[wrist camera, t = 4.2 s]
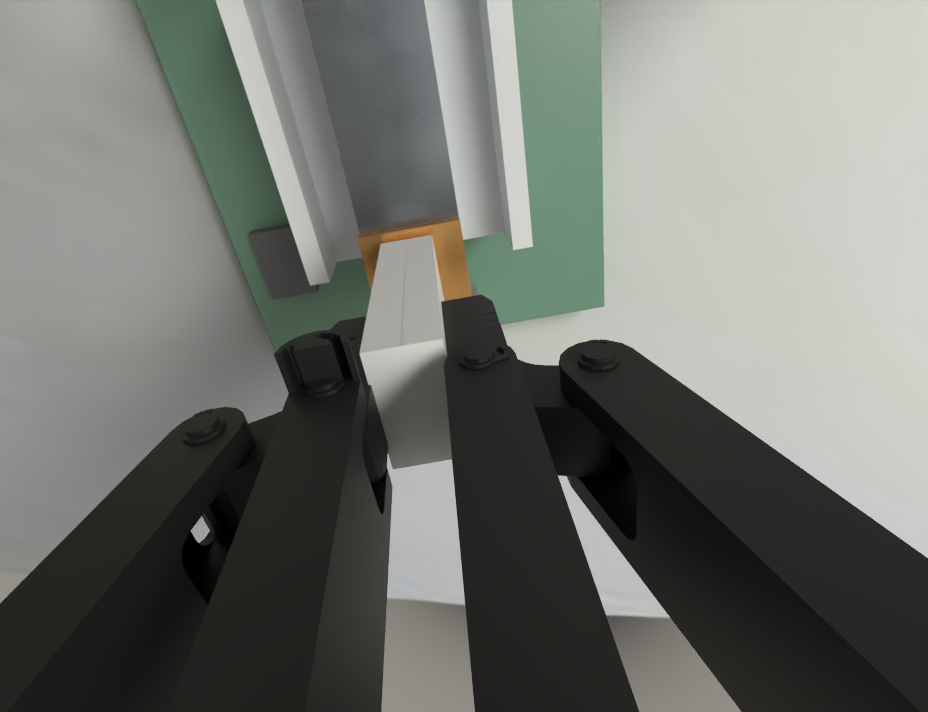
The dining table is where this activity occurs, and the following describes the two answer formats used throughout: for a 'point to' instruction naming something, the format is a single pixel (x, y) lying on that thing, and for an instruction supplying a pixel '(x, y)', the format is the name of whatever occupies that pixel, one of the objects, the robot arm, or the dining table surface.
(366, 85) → the strap
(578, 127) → the board
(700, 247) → the dining table surface
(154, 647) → the robot arm
